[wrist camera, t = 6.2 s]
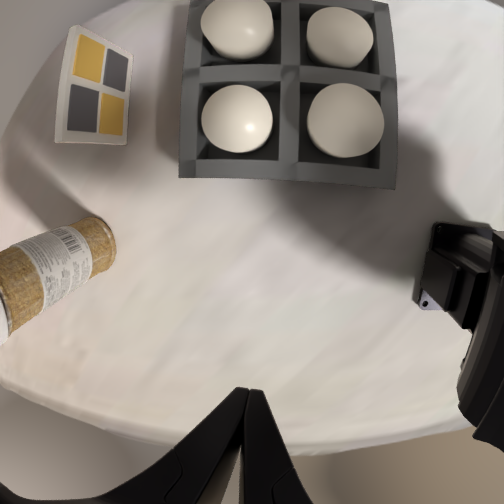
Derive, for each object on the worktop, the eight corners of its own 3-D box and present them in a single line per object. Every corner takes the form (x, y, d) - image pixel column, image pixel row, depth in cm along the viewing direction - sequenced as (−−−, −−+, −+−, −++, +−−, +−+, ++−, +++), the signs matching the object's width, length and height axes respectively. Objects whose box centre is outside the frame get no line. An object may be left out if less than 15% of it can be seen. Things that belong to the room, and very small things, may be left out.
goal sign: (135, 55, 16) (79, 23, 10) (128, 144, 18) (63, 140, 12) (126, 57, 17) (69, 27, 10) (120, 145, 19) (54, 142, 12)
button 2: (361, 28, 13) (370, 12, 11) (364, 76, 14) (375, 64, 12) (304, 21, 14) (306, 4, 11) (305, 69, 15) (308, 56, 12)
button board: (375, 24, 14) (387, 4, 11) (378, 185, 17) (395, 190, 14) (204, 17, 15) (191, -4, 12) (196, 175, 19) (178, 177, 16)
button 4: (274, 11, 13) (272, -9, 10) (274, 61, 14) (271, 45, 11) (213, 14, 13) (203, -4, 11) (210, 63, 14) (198, 49, 12)
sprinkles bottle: (67, 238, 21) (-60, 300, 8) (95, 203, 20) (-54, 254, 7) (98, 281, 22) (-20, 369, 9) (129, 250, 21) (-9, 340, 8)
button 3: (274, 95, 15) (272, 84, 13) (272, 154, 16) (270, 152, 14) (214, 96, 16) (203, 86, 13) (211, 153, 17) (200, 151, 14)
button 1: (370, 99, 14) (383, 88, 11) (370, 161, 15) (383, 160, 12) (306, 92, 14) (309, 79, 12) (305, 155, 15) (308, 152, 13)
